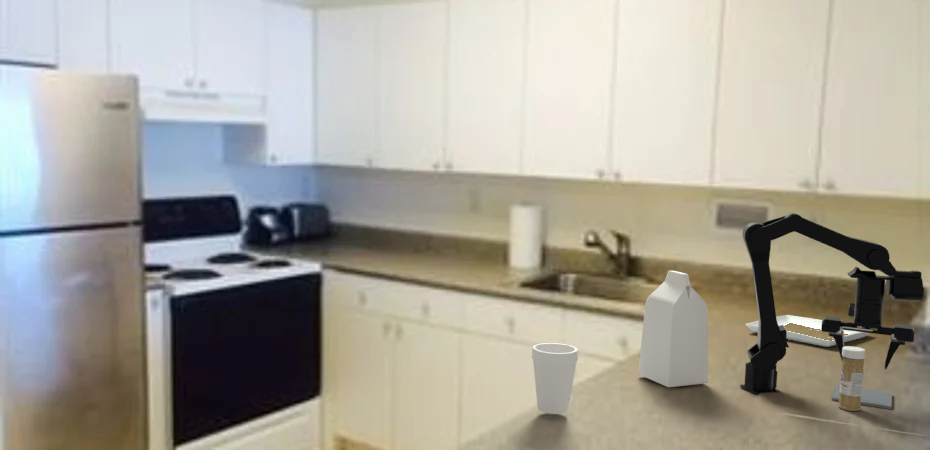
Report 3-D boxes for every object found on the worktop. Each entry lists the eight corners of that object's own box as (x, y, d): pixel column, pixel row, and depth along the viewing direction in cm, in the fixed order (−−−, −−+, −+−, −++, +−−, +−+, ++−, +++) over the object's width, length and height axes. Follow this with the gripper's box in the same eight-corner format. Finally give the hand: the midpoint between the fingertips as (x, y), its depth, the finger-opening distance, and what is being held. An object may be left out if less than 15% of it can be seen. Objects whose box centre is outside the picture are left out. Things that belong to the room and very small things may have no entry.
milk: (637, 373, 204) (643, 269, 201) (676, 370, 208) (681, 268, 206) (668, 387, 193) (674, 277, 190) (707, 383, 197) (713, 275, 195)
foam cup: (584, 412, 172) (587, 350, 171) (549, 418, 167) (552, 355, 166) (555, 399, 180) (557, 341, 179) (521, 405, 175) (523, 345, 174)
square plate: (831, 353, 233) (832, 339, 232) (742, 335, 253) (743, 322, 253) (872, 340, 251) (873, 328, 250) (786, 324, 271) (787, 312, 271)
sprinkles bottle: (833, 405, 182) (838, 345, 181) (853, 405, 183) (857, 345, 181) (845, 411, 178) (849, 350, 176) (865, 411, 178) (870, 350, 177)
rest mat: (891, 409, 180) (891, 406, 180) (831, 400, 186) (831, 397, 186) (891, 395, 191) (892, 393, 191) (835, 387, 197) (835, 384, 197)
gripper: (915, 297, 189) (910, 364, 191) (827, 289, 198) (822, 352, 199) (916, 305, 179) (910, 375, 181) (823, 295, 188) (818, 362, 189)
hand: (864, 365), depth 188 cm, fingers open, 8 cm apart
